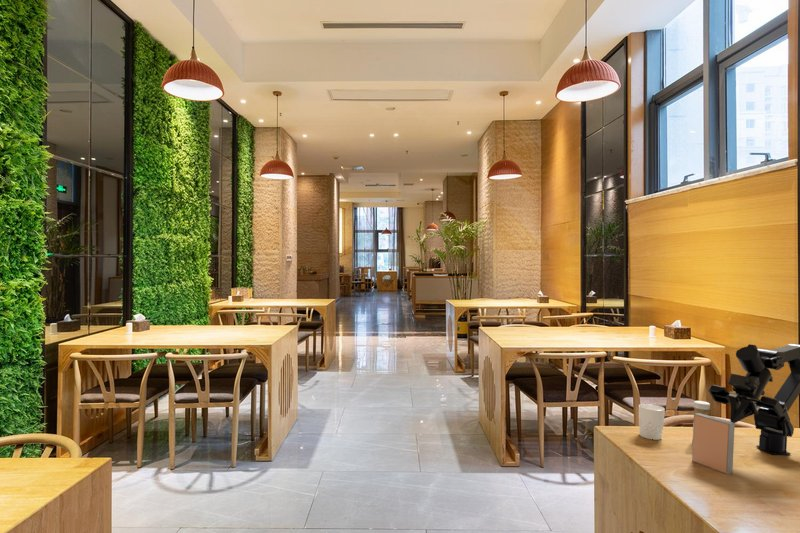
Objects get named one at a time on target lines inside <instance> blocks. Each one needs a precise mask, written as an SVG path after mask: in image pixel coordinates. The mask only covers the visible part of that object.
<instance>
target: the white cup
mask: <svg viewBox="0 0 800 533" xmlns="http://www.w3.org/2000/svg"><path fill="white" fill-rule="evenodd" d="M665 412H666V408H665V407H663V406H661V405H655V404H650V403H641V404H638V428H639V430H638V432H639V436H640V437H641V438H645V439H646V440H647V439H648V440H652V439H653V440H654V441H658V440H661V439H663V430H664V424H665Z"/></svg>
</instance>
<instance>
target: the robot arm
mask: <svg viewBox="0 0 800 533" xmlns="http://www.w3.org/2000/svg"><path fill="white" fill-rule="evenodd" d="M735 357H736V358H737V360H738V362H739V364H740V366H741V368H742V369H743V371H745V372H746V373H745V374H744V375H740V374H735V373H730V376H729V379H728V382H727V385H730V386H732V388H731V389H732V391H728V389H727V388H726V387H725V386H721V385H717V384H711V385H710V387H709V388H708V390H707V391H708V392H709V394H710V395H711V397H712V399H713V401H714V402H716V403H718V404H719V403H721V404H723V405H726V404H727V405H728V404H729V405H730V418H729V420H730V421H729V422H733V423H735V424H736V423H738V422H740V421H742V420H744V419H745V418H749V417H751V416H753V419H754V420H753V421H754V425H755V429H758V430H760V434H759V439H758V440H759V442H758V443H759V444H758V445H756V447H755V448H757V449H760V450H762V451H763V452H765V453H768V454H769V455H782V456H783V455H786V456H787V455H789V456H790V455H791V454H792V453H791V452H789V451H788V450H787V446H788V437H789V438H790V437H791V438H792V437H793V435H794V430H795V429H794V426H793V424H792V422H791V418H790V414H789V410H790V409H791V408H792V406H793V405H794V403H795V401H796V400H797V399H798V397H799V395H800V344H797V343H788V344H787V345H785V346H781V347H777V348H774V349H766V348H758V346H757V345H756V344H752V343H751V344H750V343H749V344H747V346H743V347H741V348H739V349H737V350H736V352H735ZM785 363H788V367H789V370H790V373H789V375H788V376H787V378H786V379H785V381H784V382H783V383H782V385H781V386H780V388H779V390H778V391H777V393H776V394H775V395H774V397H770V396H765V394H766V393H765V388H766V386H767V385H768V382H771V383H772V382H773V381H774V380H773V379H774V378H773V376H772V372H771V371H770V370H773V371H779V370H781V369H782V368H784V367H785Z"/></svg>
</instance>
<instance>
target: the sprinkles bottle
mask: <svg viewBox="0 0 800 533" xmlns="http://www.w3.org/2000/svg"><path fill="white" fill-rule="evenodd" d="M693 408H694V409H693V415H694V414H696V413H701V414H704V415H708V416H710V409H711V403H709V402H708V401H704V400H694V401H693ZM692 424H693V425H692V433H693V432H694V421H693V422H692ZM691 441H692V442H693V438H692V440H691Z"/></svg>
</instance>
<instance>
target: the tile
mask: <svg viewBox="0 0 800 533" xmlns="http://www.w3.org/2000/svg"><path fill="white" fill-rule="evenodd" d="M693 422H694V432H693V431H692V439H693V441H692V453H691V454H692V455H691V458H692V459H691V461H692V462H694V463H695V464H699V465H701V466H704V467H707V468H710V469H713V470H715V471H718V472H720V473H723V474H726V475H729V474H732V473H733V471H734V470H733V468H734V466H733V465H734V451H735V450H734V448H735V447H734V445H735V426H736V425H735V424H736V423H733V422H731V421H729V420H725V419H721V418H718V417H715V416H711V415H709V416H708V415H704V414H701V413H696V414H694V413H693Z"/></svg>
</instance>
